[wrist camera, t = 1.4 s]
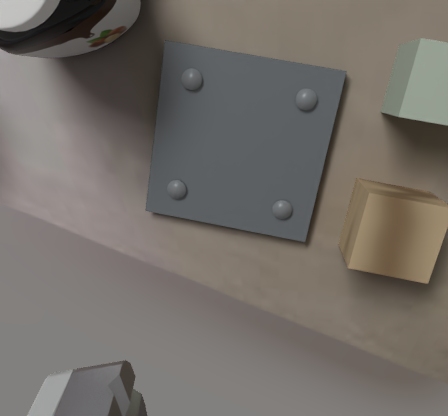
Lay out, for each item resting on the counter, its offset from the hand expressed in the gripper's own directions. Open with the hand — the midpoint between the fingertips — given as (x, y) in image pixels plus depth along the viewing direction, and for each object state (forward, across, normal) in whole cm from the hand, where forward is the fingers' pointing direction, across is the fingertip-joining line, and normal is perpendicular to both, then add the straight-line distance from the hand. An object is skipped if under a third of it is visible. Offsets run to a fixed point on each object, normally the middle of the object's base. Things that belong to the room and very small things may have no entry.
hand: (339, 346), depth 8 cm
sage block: (+26, +14, 0) cm, 30 cm away
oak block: (+26, +10, -10) cm, 30 cm away
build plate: (+28, 0, -2) cm, 28 cm away
